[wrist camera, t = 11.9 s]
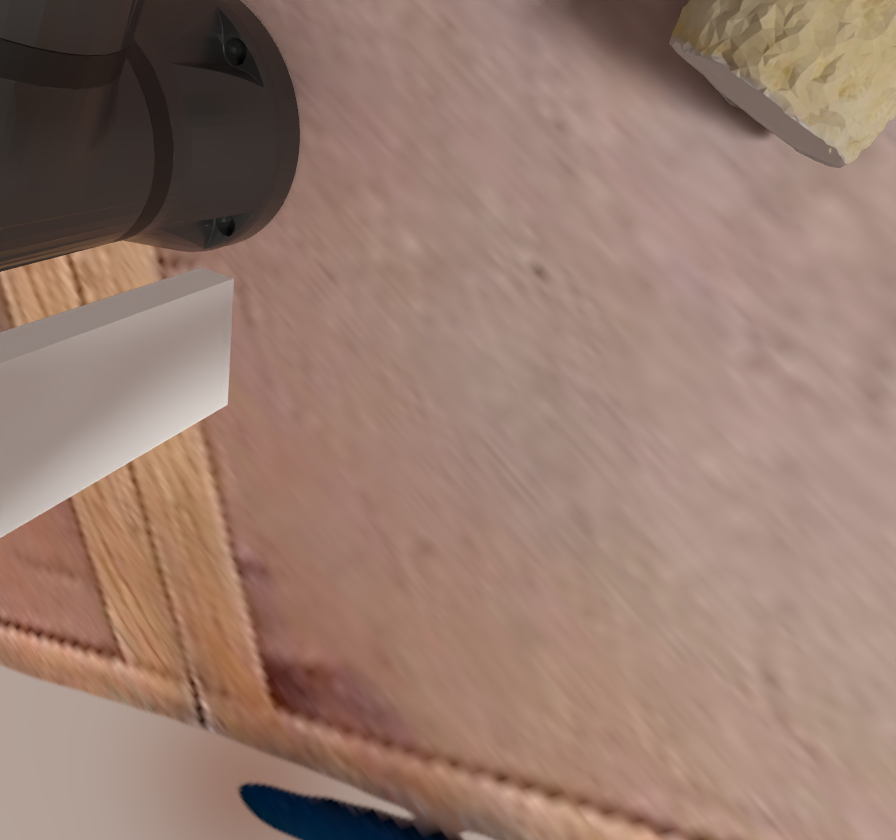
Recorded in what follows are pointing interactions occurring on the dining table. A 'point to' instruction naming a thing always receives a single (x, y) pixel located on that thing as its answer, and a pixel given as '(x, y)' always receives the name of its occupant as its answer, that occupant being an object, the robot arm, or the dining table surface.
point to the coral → (799, 67)
